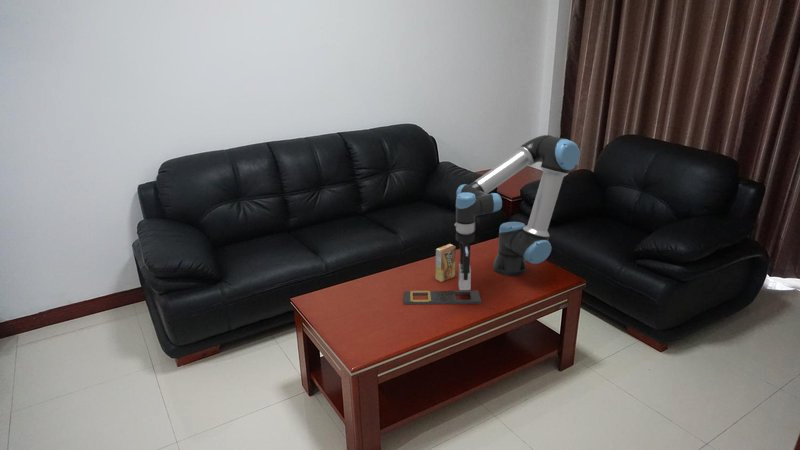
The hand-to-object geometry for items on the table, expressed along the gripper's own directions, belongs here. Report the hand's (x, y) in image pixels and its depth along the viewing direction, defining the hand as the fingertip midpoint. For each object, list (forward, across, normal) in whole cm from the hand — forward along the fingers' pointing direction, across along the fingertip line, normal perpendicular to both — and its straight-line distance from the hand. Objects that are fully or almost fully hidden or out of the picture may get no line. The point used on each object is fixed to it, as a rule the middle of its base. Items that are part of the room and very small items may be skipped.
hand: (464, 282), depth 206 cm
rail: (+7, 0, -10) cm, 12 cm away
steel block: (+2, 0, 0) cm, 2 cm away
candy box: (+8, -19, -7) cm, 21 cm away
